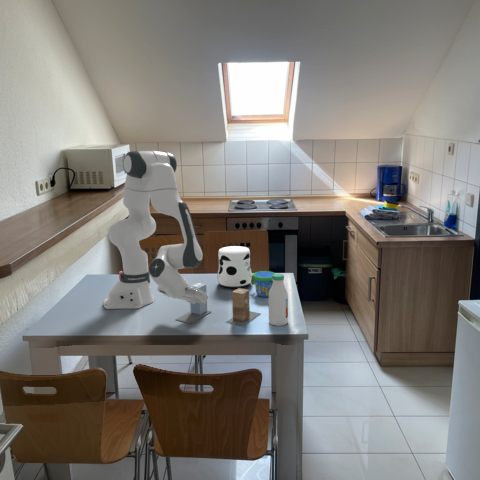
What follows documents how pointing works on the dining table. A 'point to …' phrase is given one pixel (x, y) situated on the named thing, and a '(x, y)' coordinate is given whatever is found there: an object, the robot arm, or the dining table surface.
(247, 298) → the wooden box
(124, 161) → the robot arm
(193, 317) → the grey flat block
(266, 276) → the snack cup
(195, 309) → the rectangular block
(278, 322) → the milk bottle
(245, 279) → the milk container
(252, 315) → the grey rectangular plate
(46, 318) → the dining table surface
